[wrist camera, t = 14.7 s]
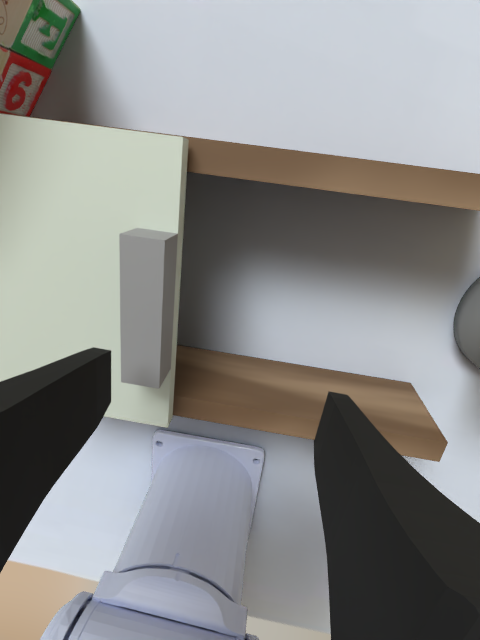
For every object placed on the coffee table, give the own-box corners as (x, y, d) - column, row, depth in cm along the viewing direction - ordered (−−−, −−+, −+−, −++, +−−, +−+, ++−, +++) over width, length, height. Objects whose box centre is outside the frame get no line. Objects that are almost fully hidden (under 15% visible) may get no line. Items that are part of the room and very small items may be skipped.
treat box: (404, 399, 22) (439, 461, 17) (70, 343, 23) (14, 387, 18) (483, 182, 17) (563, 184, 12) (54, 127, 18) (-28, 109, 14)
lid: (172, 417, 18) (156, 451, 15) (3, 387, 18) (-36, 416, 16) (188, 139, 13) (169, 131, 11) (-43, 109, 13) (-107, 96, 11)
